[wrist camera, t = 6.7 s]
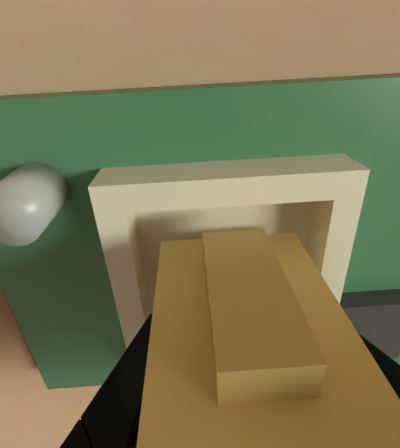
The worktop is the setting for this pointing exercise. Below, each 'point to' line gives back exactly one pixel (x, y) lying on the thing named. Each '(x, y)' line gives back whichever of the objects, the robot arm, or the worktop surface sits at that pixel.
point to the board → (191, 201)
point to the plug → (257, 353)
